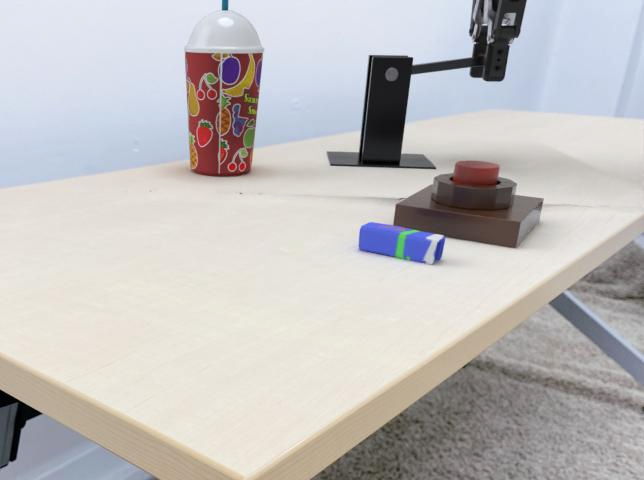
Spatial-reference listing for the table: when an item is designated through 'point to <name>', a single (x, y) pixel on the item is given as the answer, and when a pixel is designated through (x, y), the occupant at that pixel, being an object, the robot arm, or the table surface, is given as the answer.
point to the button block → (471, 211)
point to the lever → (449, 64)
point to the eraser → (401, 242)
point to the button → (476, 173)
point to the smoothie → (222, 92)
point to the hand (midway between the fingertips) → (485, 78)
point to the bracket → (384, 118)
